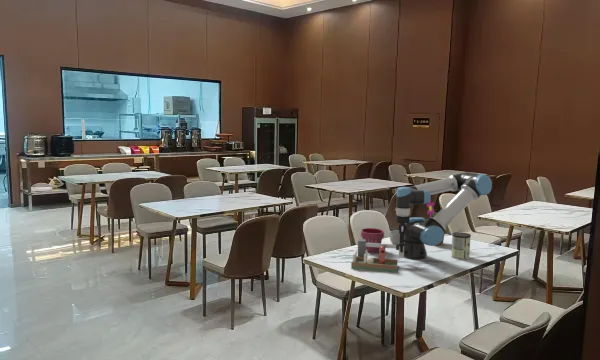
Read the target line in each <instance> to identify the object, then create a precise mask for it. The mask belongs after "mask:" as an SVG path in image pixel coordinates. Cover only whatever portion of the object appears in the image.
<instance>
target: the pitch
mask: <svg viewBox="0 0 600 360" xmlns="http://www.w3.org/2000/svg"><path fill="white" fill-rule="evenodd" d="M357 243H358V246H357V249H354V250H353V251H354V252H353V253H352V261H351V262H350V263H351V265H350V267H351V268H350V269H351V270H354V269H355V270H361V269H362V271H363V270H364V271H375V272H384V273H385V272H386V273H387V272H388V273H397V272H398V271H397V270H398V259H396V258H395V259H394V258H385V264H379V257H372V258H373V259H374V262H373V264H372V263H367V261H366V260H367V258H368V257H369V256H368V252H367V250H366V246H365V243H366V239H362V238H361V239H360V238H358V241H357Z"/></svg>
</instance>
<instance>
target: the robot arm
mask: <svg viewBox="0 0 600 360" xmlns="http://www.w3.org/2000/svg"><path fill="white" fill-rule="evenodd" d="M492 181H493V180H492V179H491V178H490V177H489V175H487V174H484V173H476V172H469V171H468V172H461V173H456V174H453V175H452V174H451V175H449V176H448V177H447V178H443V179H438V180H435V181H434V180H433V181H430V182H424V183H421V184H416V185H412V186H400V187H397V190H396V200H395V201H396V203H395V205H396V207H395V209H394V211H395V214H396V215H395V222H396V223H398V230H399V234H400V242H399V245H398V246H399V250H398V259H399V258H401V259H404V258H407V259H412V260H423V259H426V258H427V255H428V253H427V249H426V246H430V247H434V246H435V247H436V245H438V244H439V243H441V241H442V240H443V236H444V237H445V235H444V233H445V228H446V229H447V227H448V226H449V225H450V224H451V223H452V222H453V220H455V219H456V218H457V217H458V216H459V214H461V213H462V212H463V211H464V209H465V208H466V207H467V206H469V204H470V203H471V202H472V201H478V199H479V198H480V197H481V196H487V195H489V194H490V192H491V191H492V188H493V187H492V186H493V185H492V184H493V182H492ZM450 191H451V192H457V193H456V194H455V195H454V196H453V197H452V198H451V199H450V200H449V201H448V202H447V204H445V205H444V206H443V207H442V208H441V209H440V210H439V211H438V213H436V215H435V216H432V217H430V216H429V218H427V219H426V218H425V217H418V216H417V217H416V216H415V217H410V215H411V205H425V204H426V205H427V204H429V202H430V199H431V198H432V197H431V195H432V196H433V195H436V194H437V195H438V194H441V193H445V192H450ZM431 200H432V199H431ZM445 234H446V233H445ZM443 241H444V240H443ZM404 244H407V251H404ZM425 245H426V246H425Z"/></svg>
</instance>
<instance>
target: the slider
mask: <svg viewBox="0 0 600 360" xmlns="http://www.w3.org/2000/svg"><path fill="white" fill-rule="evenodd" d="M398 245H399V243H396V244H393V243H381V244H380V243H365V246H367V247H380V250H379V252H378V255H379V256H378V258H379V264H385V259H386V249H395V250H396V251H399V246H398ZM357 247H358V242H357ZM404 251H407V244H404Z"/></svg>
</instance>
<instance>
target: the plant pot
mask: <svg viewBox="0 0 600 360" xmlns="http://www.w3.org/2000/svg"><path fill="white" fill-rule="evenodd" d="M360 237H361V239H366V243H380V244H382V241H383V238H385V231H384V230H383V229H381V228H374V227H373V228H372V227H371V228H369V227H367V228H362V229H361V230H360ZM366 250H367V253H371V254H372V253H379V252H380V247H367V246H366Z"/></svg>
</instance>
